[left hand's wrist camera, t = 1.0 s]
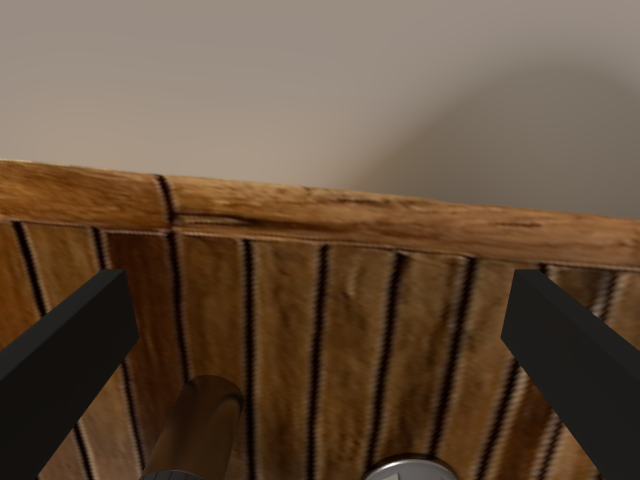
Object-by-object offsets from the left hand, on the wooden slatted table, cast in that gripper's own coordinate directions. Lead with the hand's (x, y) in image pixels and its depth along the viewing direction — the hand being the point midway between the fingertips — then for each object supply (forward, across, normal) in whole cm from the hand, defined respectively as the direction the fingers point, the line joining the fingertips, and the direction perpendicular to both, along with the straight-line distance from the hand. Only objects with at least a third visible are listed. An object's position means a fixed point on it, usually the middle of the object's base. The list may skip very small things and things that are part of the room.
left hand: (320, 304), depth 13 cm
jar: (+28, +15, +32) cm, 45 cm away
